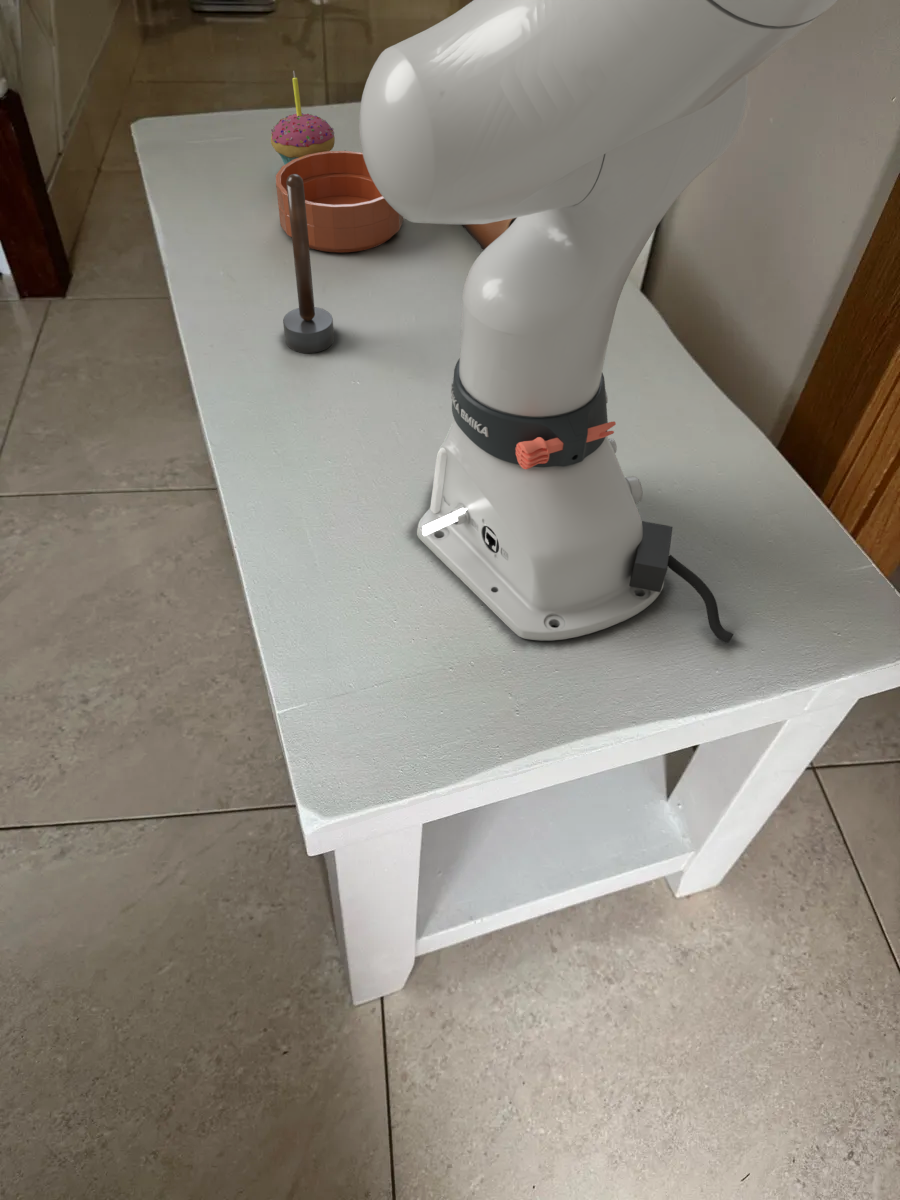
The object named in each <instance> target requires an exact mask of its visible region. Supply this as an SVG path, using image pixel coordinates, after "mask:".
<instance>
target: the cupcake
mask: <svg viewBox="0 0 900 1200" xmlns="http://www.w3.org/2000/svg"><path fill="white" fill-rule="evenodd" d="M295 71H296V70H293V71H292V74H293V77H292V87H293V95H294V104H295V110H296V112H295V113H293V114H289V115H288V116H285V117H282V118H280V120H279V121H278V122H277V123H276V124H275V125H274V126H273V127H272V129H271V136H270V144H271V146H272V149H274V150H275V152H276V153H277V154H278V155H279V156H280V157H281V160H282V162H283V166H284V165H285V164H287V163H289V162H290V161H292V160H294V159H296V158H299V157H302V156H305V155H308V154H313V153H319V152H325V151H326V152H327V151H333V148H334V147H335V142H336V138H335V131H334V130H335V129H334V127H332V126H331V125H330V124H329V123H328V122H327V120H326V119H324V118H321V117H320V116H317V115H313V114H312V113H311V114H310V113H302V104H301V96H300V90H299V81H298V80H299V79H298V77H296V72H295Z"/></svg>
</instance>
